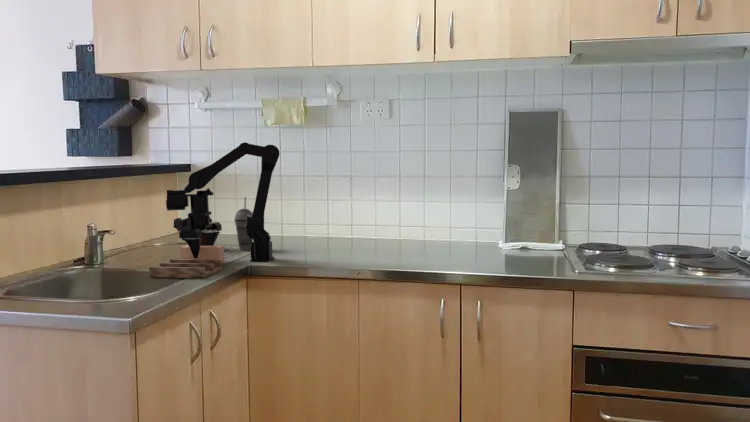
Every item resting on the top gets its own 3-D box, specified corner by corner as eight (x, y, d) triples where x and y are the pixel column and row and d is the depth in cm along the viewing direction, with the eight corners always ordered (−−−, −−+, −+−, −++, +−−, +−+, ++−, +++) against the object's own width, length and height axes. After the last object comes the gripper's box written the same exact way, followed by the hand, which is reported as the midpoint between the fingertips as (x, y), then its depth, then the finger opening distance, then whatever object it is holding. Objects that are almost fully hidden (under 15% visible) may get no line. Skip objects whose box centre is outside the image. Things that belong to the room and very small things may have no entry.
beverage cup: (246, 247, 232) (243, 195, 229) (259, 249, 227) (257, 196, 225) (231, 250, 226) (228, 197, 223) (245, 252, 221) (242, 198, 219)
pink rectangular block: (224, 263, 202) (223, 246, 202) (219, 265, 199) (218, 247, 198) (186, 262, 205) (185, 245, 204) (180, 265, 202) (179, 247, 201)
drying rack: (222, 269, 192) (222, 259, 192) (204, 278, 180) (203, 268, 180) (171, 268, 196) (170, 259, 196) (149, 276, 184) (148, 267, 183)
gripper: (191, 206, 211) (194, 250, 212) (162, 212, 192) (165, 260, 194) (221, 206, 208) (223, 250, 210) (194, 212, 190) (197, 261, 192)
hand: (202, 255), depth 202 cm, fingers open, 9 cm apart
